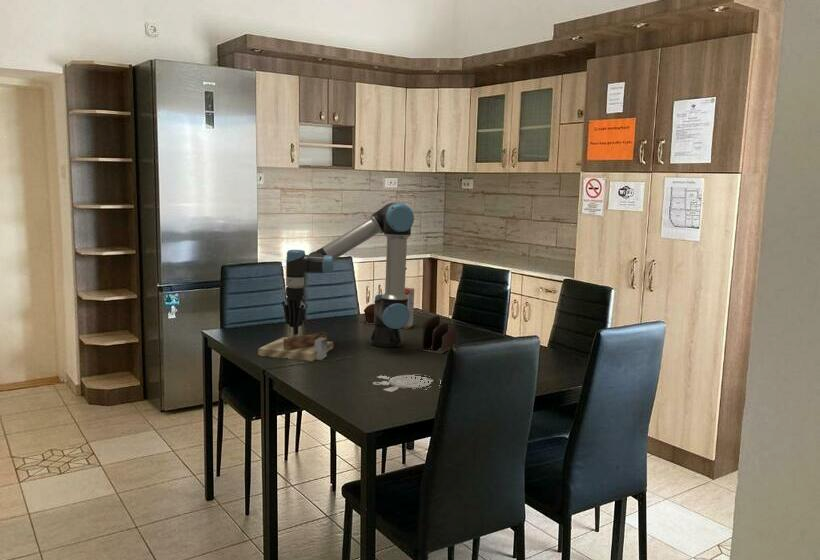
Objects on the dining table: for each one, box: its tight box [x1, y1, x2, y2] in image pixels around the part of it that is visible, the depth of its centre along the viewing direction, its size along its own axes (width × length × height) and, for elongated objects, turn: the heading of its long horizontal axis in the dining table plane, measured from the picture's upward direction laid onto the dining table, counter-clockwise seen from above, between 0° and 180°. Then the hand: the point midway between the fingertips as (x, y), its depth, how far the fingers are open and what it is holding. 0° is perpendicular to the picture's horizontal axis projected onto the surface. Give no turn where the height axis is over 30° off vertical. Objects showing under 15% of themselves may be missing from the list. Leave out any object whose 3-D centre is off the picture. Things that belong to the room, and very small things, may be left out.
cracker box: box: [405, 287, 415, 327], centre depth 345 cm, size 14×6×21 cm, turn 62°
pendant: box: [372, 373, 442, 393], centre depth 246 cm, size 21×28×1 cm
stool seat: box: [257, 336, 334, 362], centre depth 286 cm, size 24×24×3 cm
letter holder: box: [421, 315, 458, 351], centre depth 301 cm, size 10×20×14 cm, turn 157°
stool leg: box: [284, 331, 328, 350], centre depth 285 cm, size 21×4×5 cm, turn 138°
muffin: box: [363, 303, 375, 323], centre depth 355 cm, size 12×11×10 cm
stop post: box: [314, 338, 328, 361], centre depth 276 cm, size 3×6×8 cm, turn 165°
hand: (293, 341), depth 283 cm, fingers closed
